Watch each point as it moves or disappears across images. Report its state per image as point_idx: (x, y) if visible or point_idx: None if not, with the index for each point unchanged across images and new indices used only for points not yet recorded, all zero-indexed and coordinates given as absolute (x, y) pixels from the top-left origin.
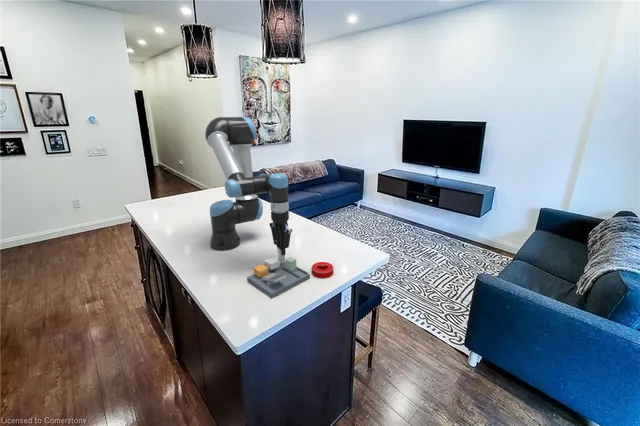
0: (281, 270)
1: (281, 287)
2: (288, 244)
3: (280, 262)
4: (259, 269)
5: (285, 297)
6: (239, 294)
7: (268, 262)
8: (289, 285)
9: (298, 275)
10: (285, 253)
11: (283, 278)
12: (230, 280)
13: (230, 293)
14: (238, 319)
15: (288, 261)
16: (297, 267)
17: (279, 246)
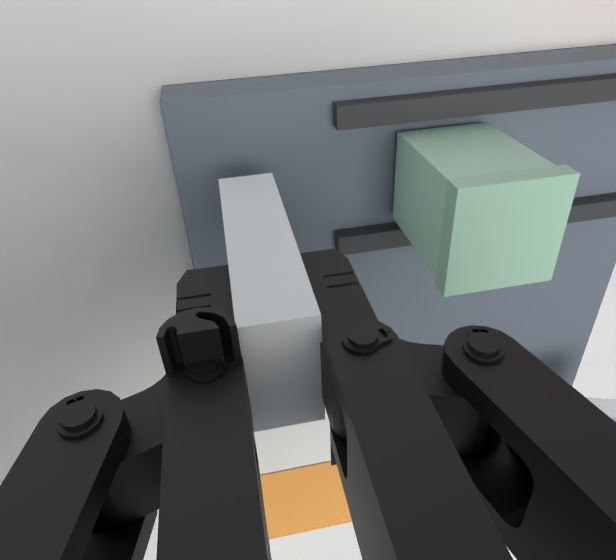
0: (361, 266)
1: (562, 378)
2: (568, 406)
3: (176, 178)
4: (331, 512)
5: (599, 356)
6: (347, 523)
7: (319, 461)
8: (590, 316)
9: (582, 178)
10: (348, 262)
11: (489, 316)
12: (152, 538)
13: (301, 551)
14: (508, 548)
15: (497, 282)
16: (491, 97)
17: (251, 417)
